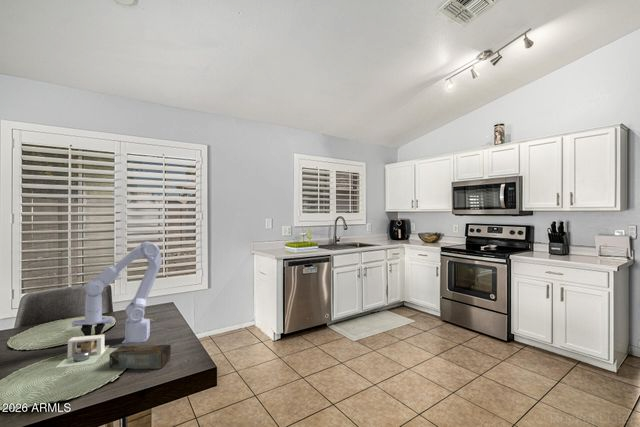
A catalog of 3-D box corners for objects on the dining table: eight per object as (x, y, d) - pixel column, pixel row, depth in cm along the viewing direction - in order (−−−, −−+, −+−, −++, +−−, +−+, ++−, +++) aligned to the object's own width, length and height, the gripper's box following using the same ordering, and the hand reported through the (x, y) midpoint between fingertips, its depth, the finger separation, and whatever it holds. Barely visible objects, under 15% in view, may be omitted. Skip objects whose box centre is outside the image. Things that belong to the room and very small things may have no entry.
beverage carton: (121, 360, 120) (121, 343, 120) (171, 359, 121) (172, 342, 121) (108, 370, 112) (108, 352, 112) (162, 369, 113) (162, 351, 113)
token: (91, 355, 122) (91, 349, 122) (87, 360, 118) (87, 354, 118) (76, 357, 120) (76, 351, 120) (71, 363, 116) (71, 356, 116)
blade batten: (102, 340, 137) (102, 330, 137) (87, 355, 122) (87, 343, 122) (96, 341, 136) (96, 330, 136) (80, 356, 121) (80, 344, 121)
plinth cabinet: (104, 351, 127) (104, 334, 127) (100, 355, 123) (101, 338, 123) (72, 354, 124) (72, 337, 124) (67, 359, 120) (67, 341, 120)
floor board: (109, 346, 132) (110, 345, 132) (94, 364, 116) (94, 363, 116) (76, 349, 128) (76, 348, 129) (55, 369, 112) (55, 367, 112)
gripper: (116, 305, 136) (116, 336, 136) (77, 308, 132) (76, 340, 132) (111, 310, 129) (110, 343, 129) (69, 313, 125) (68, 347, 125)
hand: (93, 342), depth 130 cm, fingers closed on blade batten, 2 cm apart
